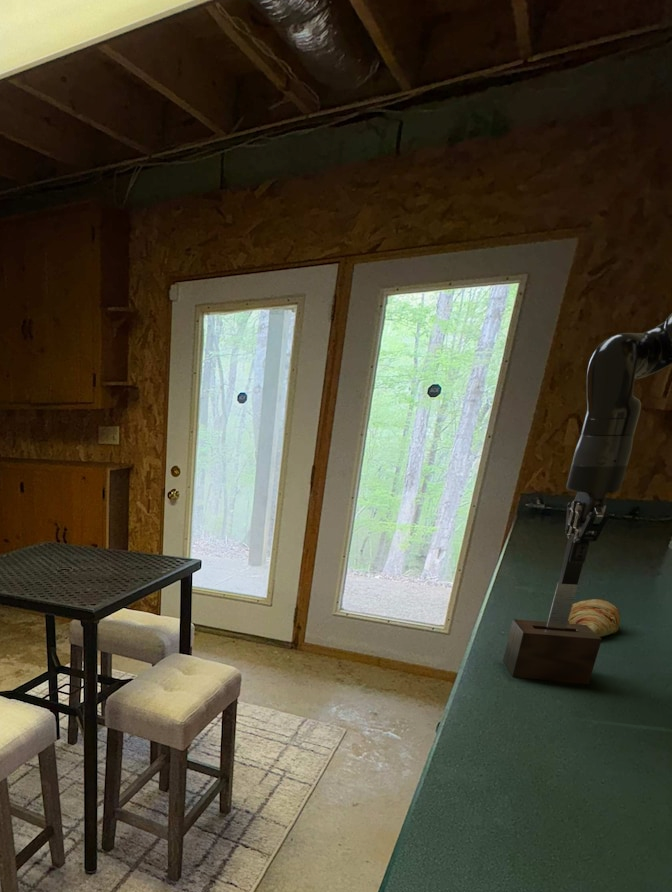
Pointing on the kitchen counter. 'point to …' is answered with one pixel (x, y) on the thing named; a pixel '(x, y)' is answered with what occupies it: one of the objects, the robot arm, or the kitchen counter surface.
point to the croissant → (596, 616)
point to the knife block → (551, 652)
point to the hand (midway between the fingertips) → (573, 561)
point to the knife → (564, 592)
